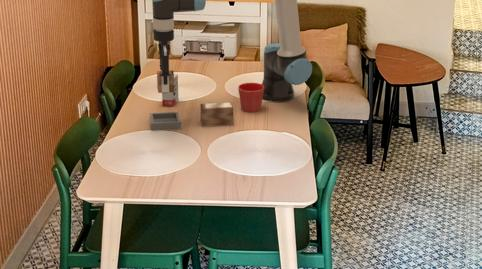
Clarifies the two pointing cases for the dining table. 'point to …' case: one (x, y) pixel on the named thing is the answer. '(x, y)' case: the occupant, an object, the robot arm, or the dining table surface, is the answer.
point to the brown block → (171, 81)
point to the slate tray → (165, 121)
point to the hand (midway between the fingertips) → (164, 89)
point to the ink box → (171, 94)
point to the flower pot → (251, 96)
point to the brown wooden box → (216, 114)
